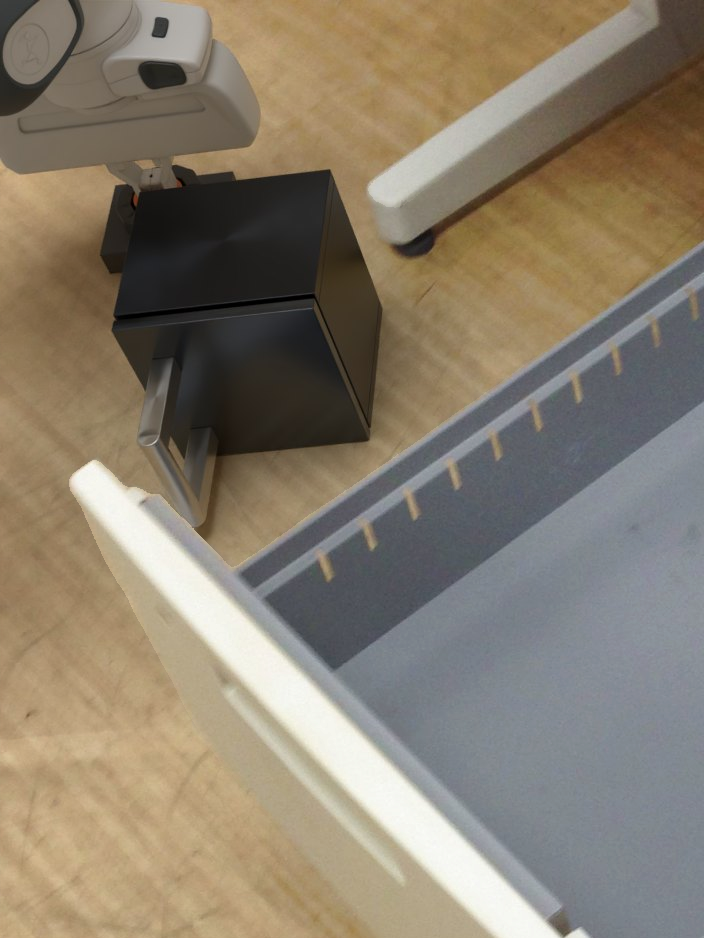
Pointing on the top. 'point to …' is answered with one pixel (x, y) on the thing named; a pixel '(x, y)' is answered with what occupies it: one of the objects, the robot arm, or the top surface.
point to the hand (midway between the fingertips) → (159, 193)
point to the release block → (125, 211)
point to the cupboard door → (235, 389)
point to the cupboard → (256, 259)
